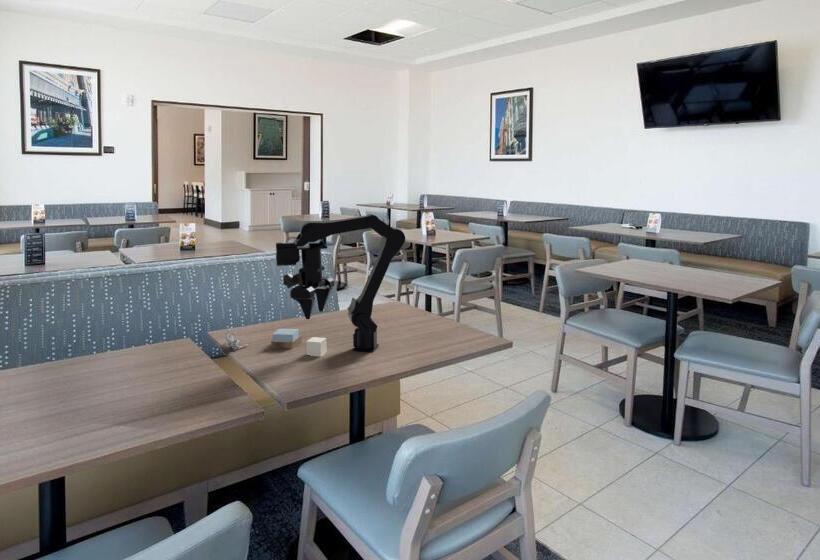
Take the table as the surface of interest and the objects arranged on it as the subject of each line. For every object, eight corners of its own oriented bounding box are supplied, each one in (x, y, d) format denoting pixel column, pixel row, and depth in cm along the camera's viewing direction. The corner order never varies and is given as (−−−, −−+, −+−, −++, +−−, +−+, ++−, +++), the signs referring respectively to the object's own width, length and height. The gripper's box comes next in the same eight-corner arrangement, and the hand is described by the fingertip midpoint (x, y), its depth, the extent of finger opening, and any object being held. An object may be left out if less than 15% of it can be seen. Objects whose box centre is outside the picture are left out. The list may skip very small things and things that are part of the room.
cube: (326, 352, 178) (326, 338, 177) (320, 356, 174) (320, 342, 173) (313, 351, 179) (312, 337, 178) (307, 355, 175) (306, 341, 174)
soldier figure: (247, 344, 190) (251, 342, 179) (237, 355, 188) (240, 355, 177) (228, 328, 189) (231, 326, 178) (218, 340, 187) (220, 338, 176)
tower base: (301, 344, 188) (301, 336, 187) (291, 350, 181) (291, 342, 181) (281, 342, 190) (281, 335, 189) (271, 349, 183) (271, 341, 182)
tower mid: (298, 336, 188) (298, 328, 187) (293, 342, 181) (292, 334, 181) (279, 335, 188) (279, 328, 188) (272, 341, 182) (272, 334, 182)
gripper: (301, 258, 182) (303, 306, 185) (271, 268, 165) (275, 321, 168) (334, 259, 179) (336, 308, 182) (307, 270, 162) (310, 324, 165)
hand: (314, 315), depth 175 cm, fingers open, 9 cm apart
